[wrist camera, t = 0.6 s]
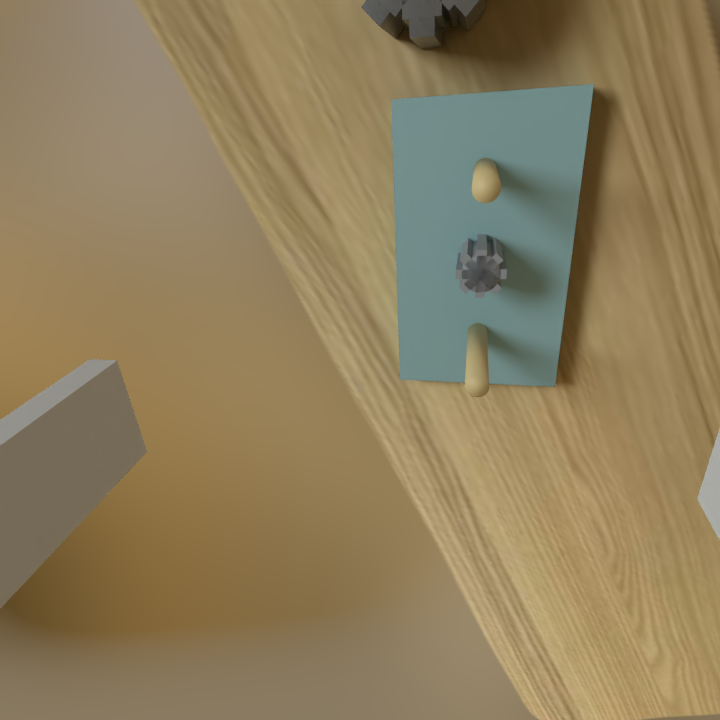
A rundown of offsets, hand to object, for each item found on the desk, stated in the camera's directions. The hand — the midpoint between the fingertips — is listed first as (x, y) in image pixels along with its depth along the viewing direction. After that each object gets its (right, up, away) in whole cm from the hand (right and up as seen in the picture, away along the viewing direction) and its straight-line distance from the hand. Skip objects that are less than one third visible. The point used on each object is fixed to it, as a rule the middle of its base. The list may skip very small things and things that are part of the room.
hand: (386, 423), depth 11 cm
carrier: (+7, +8, +19) cm, 22 cm away
